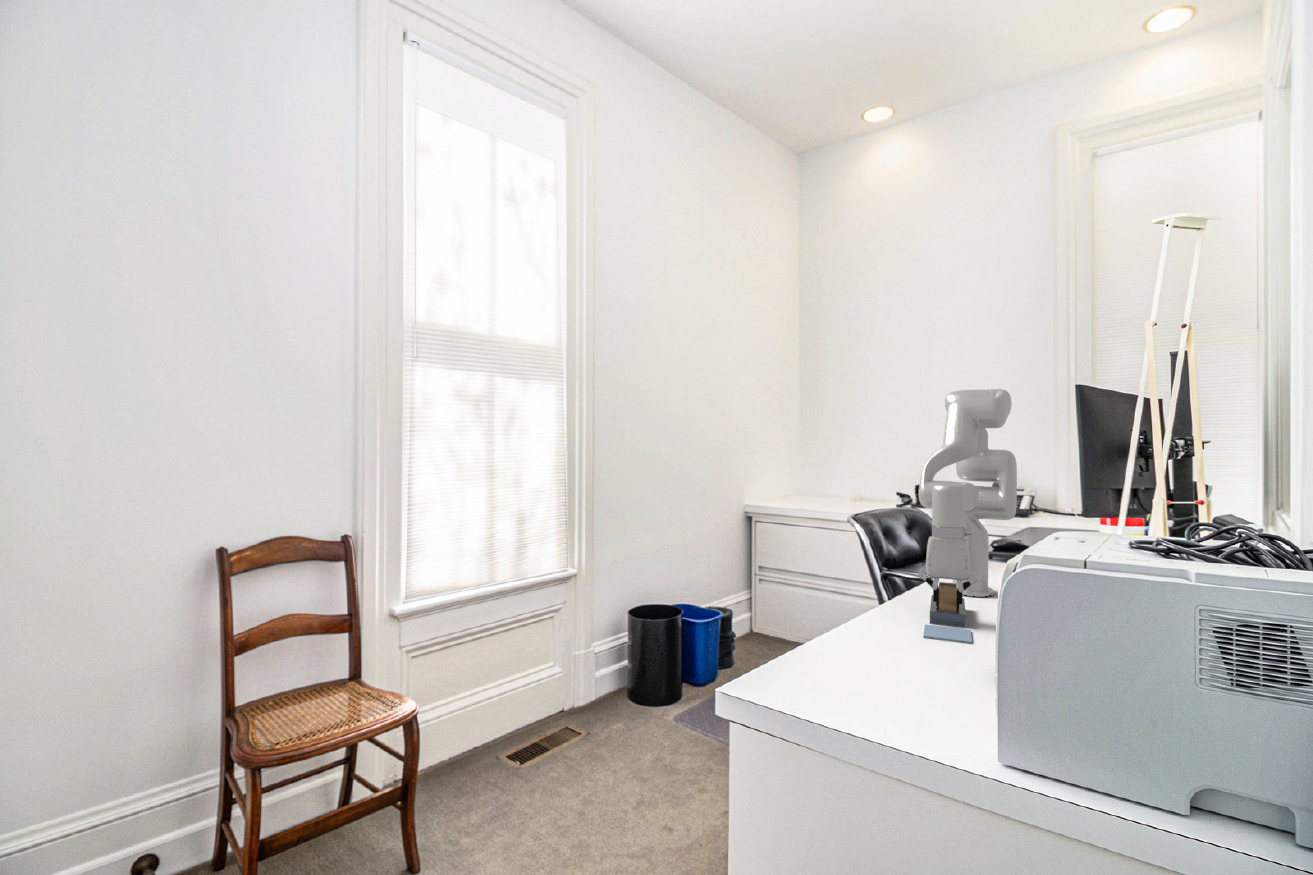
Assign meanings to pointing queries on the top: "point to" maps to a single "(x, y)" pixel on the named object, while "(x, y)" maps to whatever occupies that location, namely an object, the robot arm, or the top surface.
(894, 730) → the top surface
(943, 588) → the plug
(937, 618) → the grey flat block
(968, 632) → the pad
